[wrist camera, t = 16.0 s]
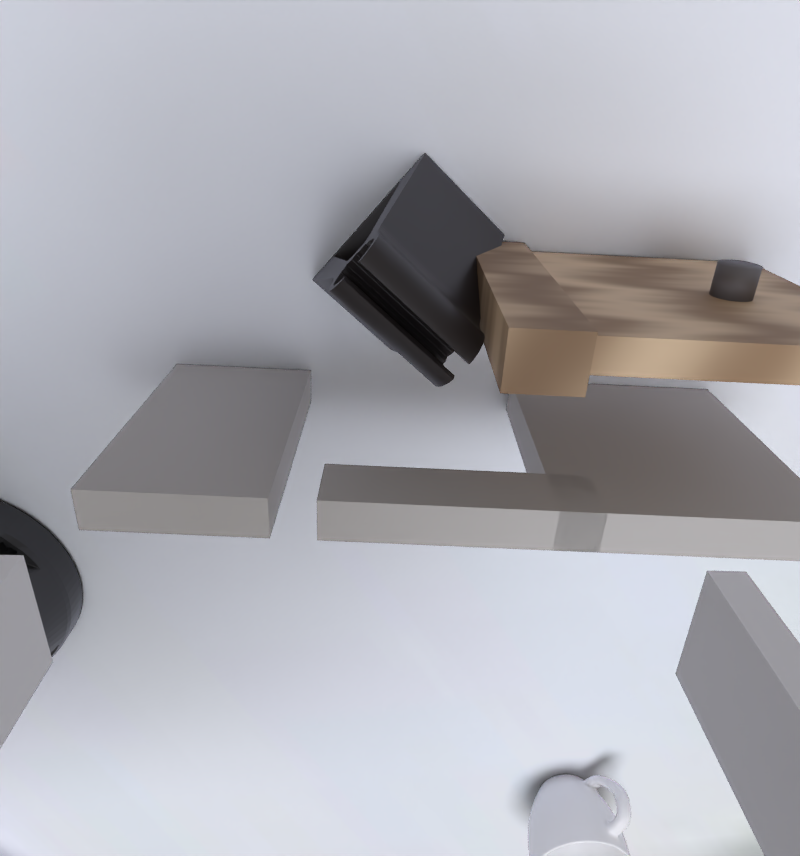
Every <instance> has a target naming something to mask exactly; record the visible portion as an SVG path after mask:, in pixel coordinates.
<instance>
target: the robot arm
mask: <svg viewBox="0 0 800 856" xmlns="http://www.w3.org/2000/svg"><path fill="white" fill-rule="evenodd" d="M82 597H83V595H82V586H81V582H80V578H79V575H78V572H77V570H76V567H75V565H74V563H73V561H72V560H71V558H70V556H69V555H68V553H67V552H66V550H65V549H64V548H63V546H62V545H61V544H60V543H59V542H58V541H57V539H56V538H55V537H54V536H53V535H52V534H51V533H50V532H49V531H47V530H46V529H45V528H44V527H43V526H42V525H40V524H39V523H38V522H36V521H35V520H34V519H32V518H31V517H29V516H28V515H26V514H25V513H23V512H21V511H20V510H18V509H16V508H14V507H12V506H10V505H8V504H6V503H4V502H1V501H0V748H1V747H2V745H3V743H4V742H5V740H6V738H7V737H8V735H9V734H10V732H11V730H12V729H13V727H14V725H15V724H16V722H17V720H18V719H19V717H20V715H21V714H22V712H23V710H24V709H25V707H26V705H27V704H28V702H29V701H30V699H31V697H32V696H33V694H34V692H35V691H36V689H37V687H38V686H39V684H40V682H41V681H42V679H43V677H44V676H45V674H46V672H47V671H48V669H49V668H50V666H51V664H52V663H53V660H52V657H53V656H54V655H55V653H56V652H57V651H58V650H59V649H60V648H61V646H62V645H63V643H64V642H65V640H66V638H67V637H68V635H69V634H70V632H71V630H72V629H73V627H74V626H75V624H76V622H77V620H78V618H79V615H80V612H81V608H82ZM676 676H677V678H678V680H679V682H680V684H681V686H682V688H683V690H684V692H685V694H686V696H687V698H688V700H689V702H690V704H691V706H692V708H693V710H694V712H695V715H696V717H697V719H698V721H699V723H700V725H701V727H702V729H703V731H704V733H705V735H706V737H707V739H708V741H709V743H710V745H711V747H712V749H713V751H714V753H715V755H716V757H717V759H718V762H719V764H720V766H721V768H722V770H723V772H724V774H725V776H726V778H727V780H728V782H729V784H730V786H731V788H732V790H733V792H734V794H735V796H736V798H737V800H738V802H739V804H740V806H741V809H742V811H743V813H744V815H745V817H746V819H747V821H748V823H749V825H750V827H751V829H752V831H753V833H754V835H755V837H756V839H757V841H758V843H759V845H760V847H761V849H762V851H763V853H764V856H800V644H799V642H798V641H797V639H796V638H795V637H794V635H793V634H792V633H791V631H790V630H789V629H788V627H787V626H786V625H785V623H784V622H783V621H782V619H781V618H780V617H779V615H778V614H777V613H776V611H775V610H774V609H773V607H772V606H771V605H770V603H769V602H768V601H767V599H766V598H765V596H764V595H763V594H762V592H761V591H760V590H759V588H758V587H757V586H756V584H755V583H754V582H753V580H752V579H751V578H750V576H749V575H748V574H747V572H739V571H707V573H706V576H705V579H704V583H703V586H702V589H701V592H700V596H699V599H698V602H697V605H696V609H695V612H694V615H693V618H692V622H691V625H690V628H689V631H688V635H687V638H686V641H685V644H684V648H683V651H682V654H681V657H680V661H679V664H678V667H677V670H676Z"/></svg>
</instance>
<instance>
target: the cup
mask: <svg viewBox="0 0 800 856" xmlns="http://www.w3.org/2000/svg"><path fill="white" fill-rule="evenodd" d="M600 786H603V787H606V788H607V789H609V790H610V791H611V792H612V793H613V795H614V797H615V800H616V806H617V814H616V816H615V815H614V813H613V811H612V810H611V808H610V807H609V805H608V804H607V803H606V801H605V800H604V799H603V798H602V796H601V795H600V794H599V793H598V791H597V788H598V787H600ZM630 820H631V806H630V801H629V797H628V795H627V793H626V791H625V790H624V788H623V787H622V786H621V785H620V784H619V783H617V782H616V781H614V780H612V779H609V778H607V777H604V776H598V775H594V776H591V777H589V778H587V779H586V780H583V779H582V778H580V777H578V776H575V775H569V774H563V775H557V776H554V777H551V778H549V779H548V780H546V781H545V782H544V783H543V784H542V785H541V787H540V789H539V791H538V793H537V795H536V797H535V800H534V802H533V805H532V808H531V812H530V817H529V823H528V850H529V856H630V853H629V849H628V846H627V843H626V840H625V837H624V834H623V831H624V830H625V829H626V828H627V827H628V825H629V823H630Z"/></svg>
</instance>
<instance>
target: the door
mask: <svg viewBox="0 0 800 856" xmlns="http://www.w3.org/2000/svg"><path fill="white" fill-rule="evenodd" d="M476 260H477V273H478V287H479V301H480V315H481V319H480V330H481V331H482V332H483V333H484V335H485V339H484V345H485V348H486V351H487V354H488V357H489V360H490V363H491V366H492V369H493V372H494V375H495V379H496V382H497V385H498V388H499V391H500V393H504V394H525V395H546V396H567V397H585V396H586V391H587V386H588V381H589V376H590V375H597V376H618V377H639V378H660V379H681V380H701V381H722V382H743V383H764V384H784V385H800V286H798V285H796V284H794V283H792V282H790V281H788V280H786V279H784V278H782V277H780V276H777V275H775V274H773V273H771V272H769V271H767V270H765V269H763V267H762V266H760V265H758V264H755V263H750V262H745V261H738V260H719V261H704V260H685V259H665V258H646V257H626V256H607V255H587V254H568V253H549V252H532V251H531V250H530V249H529V248H528V247H527V245H526V244H525V243H520V242H502V245H501V246H499V247H497V248H494V249H492V250H490V251H487V252H485V253H482V254H480V255H478V256H476Z"/></svg>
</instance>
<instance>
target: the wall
mask: <svg viewBox="0 0 800 856" xmlns="http://www.w3.org/2000/svg"><path fill="white" fill-rule="evenodd" d="M310 404H311V370H291V369H270V368H249V367H228V366H207V365H186V364H176V366H175V367H174V368H173V369H172V370H171V371H170V373H169V374H168V375H167V376H166V377H165V379H164V380H163V381H162V382H161V383H160V384H159V386H158V387H157V388H156V389H155V390H154V392H153V393H152V394H151V395H150V396H149V397H148V399H147V400H146V401H145V402H144V403H143V405H142V406H141V407H140V408H139V409H138V410H137V412H136V413H135V414H134V415H133V416H132V418H131V419H130V420H129V421H128V422H127V423H126V425H125V426H124V427H123V428H122V429H121V431H120V432H119V433H118V434H117V435H116V436H115V438H114V439H113V440H112V441H111V442H110V444H109V445H108V446H107V447H106V448H105V449H104V451H103V452H102V453H101V454H100V455H99V457H98V458H97V459H96V460H95V461H94V462H93V464H92V465H91V466H90V467H89V468H88V470H87V471H86V472H85V473H84V474H83V475H82V477H81V478H80V479H79V480H78V481H77V483H76V484H75V485H74V486H73V487H72V488H71V494H72V499H73V504H74V509H75V513H76V518H77V523H78V528H79V530H90V531H114V532H137V533H160V534H183V535H206V536H230V537H253V538H270V536H271V533H272V529H273V526H274V523H275V519H276V516H277V513H278V509H279V506H280V503H281V500H282V496H283V493H284V490H285V486H286V483H287V480H288V476H289V473H290V470H291V466H292V463H293V460H294V457H295V453H296V450H297V447H298V443H299V440H300V437H301V433H302V430H303V427H304V423H305V420H306V417H307V414H308V410H309V407H310ZM506 411H507V414H508V417H509V420H510V423H511V426H512V429H513V432H514V435H515V438H516V441H517V444H518V447H519V450H520V453H521V456H522V459H523V462H524V466H525V469H526V472H527V473H516V472H494V471H472V470H450V469H428V468H406V467H384V466H362V465H339V464H325V465H324V469H323V474H322V479H321V483H320V488H319V493H318V497H317V540H322V541H345V542H369V543H392V544H415V545H438V546H461V547H485V548H508V549H531V550H554V551H577V552H600V553H624V554H647V555H670V556H693V557H716V558H740V559H763V560H786V561H800V478H799V477H798V476H797V475H796V474H795V473H794V472H793V471H792V470H791V469H790V468H789V467H788V466H786V465H785V464H784V463H783V462H782V461H781V460H780V459H779V458H778V457H777V456H776V455H775V454H774V453H773V452H772V451H771V450H770V449H769V448H768V447H767V446H766V445H765V444H764V443H763V442H762V441H761V440H760V439H758V438H757V437H756V436H755V435H754V434H753V433H752V432H751V431H750V430H749V429H748V428H747V427H746V426H745V425H744V424H743V423H742V422H741V421H740V420H739V419H738V418H737V417H736V416H735V415H734V414H733V413H732V412H730V411H729V410H728V409H727V408H726V407H725V406H724V405H723V404H722V403H721V402H720V401H719V400H718V399H717V398H716V397H715V396H714V395H713V394H712V393H711V392H710V391H709V390H708V389H688V388H667V387H646V386H625V385H604V384H588V386H587V391H586V396H585V397H567V396H546V395H525V394H508V401H507V409H506Z"/></svg>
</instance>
